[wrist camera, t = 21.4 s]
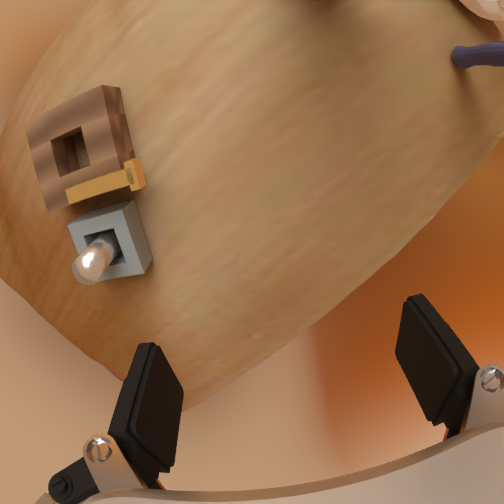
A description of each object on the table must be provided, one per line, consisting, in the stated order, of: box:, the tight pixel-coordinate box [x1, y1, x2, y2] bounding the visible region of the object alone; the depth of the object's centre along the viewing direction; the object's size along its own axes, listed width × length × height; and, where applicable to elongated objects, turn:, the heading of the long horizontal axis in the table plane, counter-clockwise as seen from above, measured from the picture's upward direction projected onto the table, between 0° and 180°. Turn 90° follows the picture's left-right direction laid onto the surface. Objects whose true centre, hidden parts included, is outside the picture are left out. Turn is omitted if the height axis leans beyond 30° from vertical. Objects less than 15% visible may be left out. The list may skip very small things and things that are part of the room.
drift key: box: [65, 157, 146, 204], centre depth 32 cm, size 4×10×2 cm, turn 100°
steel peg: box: [72, 228, 121, 286], centre depth 38 cm, size 4×4×12 cm
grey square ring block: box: [68, 199, 153, 282], centre depth 41 cm, size 10×10×5 cm
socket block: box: [25, 85, 135, 213], centre depth 34 cm, size 14×14×6 cm
